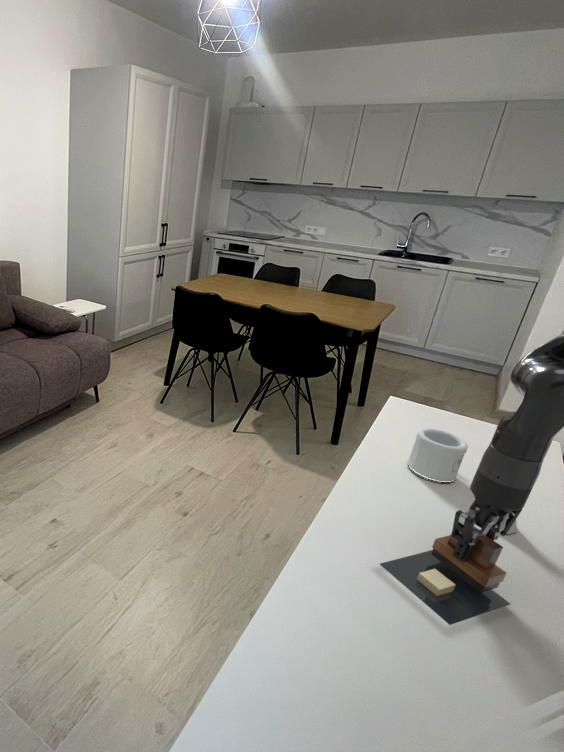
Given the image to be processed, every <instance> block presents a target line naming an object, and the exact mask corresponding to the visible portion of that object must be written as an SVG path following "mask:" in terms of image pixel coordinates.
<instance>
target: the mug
mask: <svg viewBox="0 0 564 752" xmlns="http://www.w3.org/2000/svg"><path fill="white" fill-rule="evenodd" d="M468 448H469V446H468V443H467V442H466V441H465V440H464V439H463V438H461V437H460V436H458V435H456V434H454V433H451V432H449V431H445V430H442V429H439V428H438V429H437V428H429V427H426V428H421V429H419V430H418V431H417V433H416V435H415V440H414V443H413V446H412V449H411V452H410V455H409V457H408V459H407V463H408V464H409V465H410V467H411V468H412V469H414V470H415V471H416V472H418V473H420V474H421V475H424V476H426V477H428V478H431V479H435V480H439V481H452V480H454V479H455V478H456V479H457V476H458V473H459V470H460V467H461V464H462V462H463V459H464V457H465V454H466V453H467V452H468ZM411 472H412V473H413V474H415V476H416V475H417V474H416V473H414V472H413V471H411ZM417 476H418V477H420V478H422V479H425V480H427V481H430V482H433V483H434V482H435V481H431V480H428V479H426V478H423V477H421V476H419V475H417ZM456 479H455V480H456ZM455 480H454V481H455ZM435 483H436V482H435ZM437 484H442V483H441V482H437Z"/></svg>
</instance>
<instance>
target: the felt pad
mask: <svg viewBox="0 0 564 752" xmlns="http://www.w3.org/2000/svg"><path fill="white" fill-rule="evenodd" d="M417 580H418V581H419V582H421V583H422V584H423V585H424V586H425V587H427V588H428V589H429V590H430V591H431V592H433V593H434V594H435V595H436V596H439V595H442V594H445V593H449V592H452V591H453V590H454V588H455V584H454V583H453V582H452V581H450V580H449V579H448V578H446V577H445V576H444V575H443V574H441V573H440V572H439V571H437V570H436V569H432V570H428V571H425V572H421V573H419V575H418V578H417Z"/></svg>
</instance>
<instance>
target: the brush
mask: <svg viewBox="0 0 564 752" xmlns="http://www.w3.org/2000/svg"><path fill="white" fill-rule="evenodd" d="M473 535H474V533H473V532H472V535H471V538H472V537H473ZM457 543H458V540H457V539H455V538H454V537H452V532H451V533H450V534H449V535H445V536H441V537H437V538H435V539H434V541H433V544H432V546H431V548H432V550H433V551H432V553H431V555H433V556H434V557H435V558H437V559H438V560H439V561H440V562H442V563H443V564H444V565H446V566H447V567H448V568H450V569H451V570H452V571H454V572H455V573H456V574H458V575H459V576H460V577H461V578H463V579H464V580H465V581H467V582H468V583H469V584H471V585H472V586H473V587H475V588H476V589H477V590H479V591H480V592H481V593H482V592H485V591H488V590H494V589H497V588H499V586H500V583H503V582H504V580H505V577H507V576H506V575H507V571H506V570H503V569H502V568H501V567H499V566H497V565H496V563H497V562H498V559H499V557H500V555H501V553H502V551H503V548H504V546H502V545H501V544H500V543H498V542H497V541H495V540H494V541H493V540H492V539H490V538H489V537H487V536H486V535H485V536H484V537H482V536H481V537H480V538H479V539H478V541H477V542H476V544H475V545H474V548H473V550H472V553H471V555H470V557H469V559H468V561H467V562H461V561H460V560H458V559H457V558H456V557H454V555H453V552H454V550H455V548H456V545H457Z"/></svg>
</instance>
